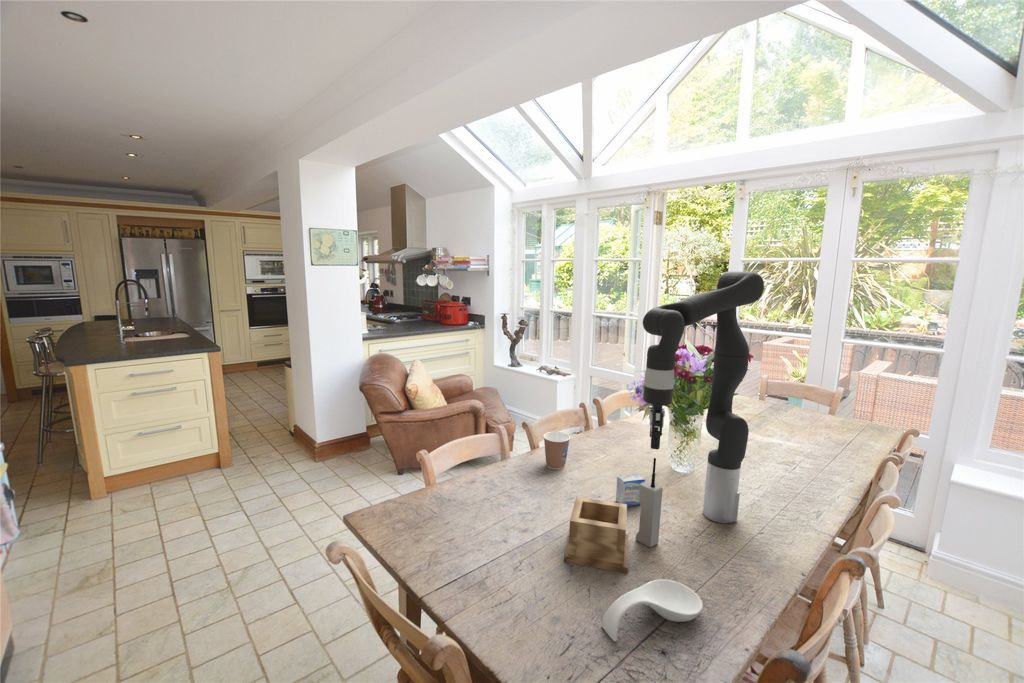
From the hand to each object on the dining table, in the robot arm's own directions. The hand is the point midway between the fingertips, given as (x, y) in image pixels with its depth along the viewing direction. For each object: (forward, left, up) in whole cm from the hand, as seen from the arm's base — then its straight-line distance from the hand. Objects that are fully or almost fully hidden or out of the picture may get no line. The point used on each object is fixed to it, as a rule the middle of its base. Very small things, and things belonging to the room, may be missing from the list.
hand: (654, 442), depth 121 cm
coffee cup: (+33, -41, -29) cm, 60 cm away
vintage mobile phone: (0, 0, -29) cm, 29 cm away
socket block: (+13, +8, -29) cm, 33 cm away
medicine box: (+5, -21, -29) cm, 36 cm away
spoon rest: (-1, +29, -30) cm, 42 cm away
